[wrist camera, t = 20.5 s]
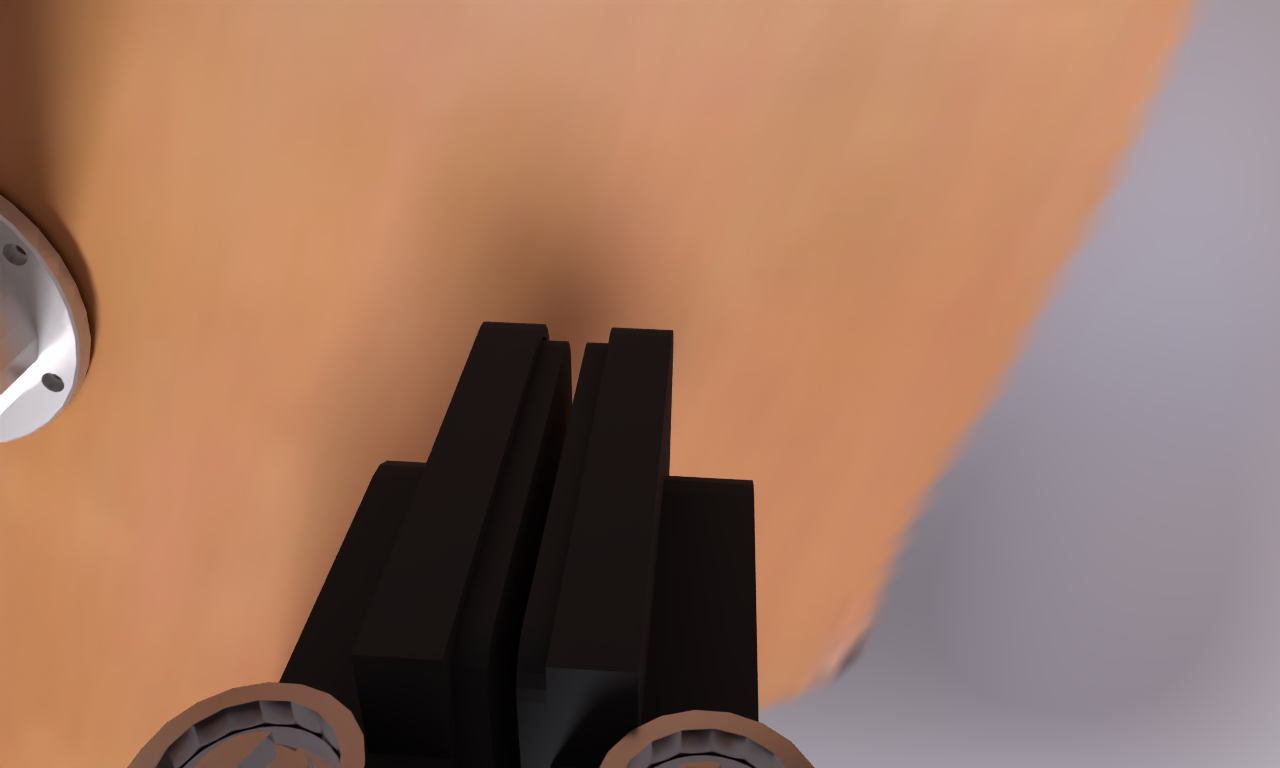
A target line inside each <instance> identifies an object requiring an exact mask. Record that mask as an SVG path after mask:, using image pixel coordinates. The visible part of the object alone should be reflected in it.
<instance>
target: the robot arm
mask: <svg viewBox="0 0 1280 768" xmlns="http://www.w3.org/2000/svg"><path fill="white" fill-rule="evenodd" d="M90 346H91V336H90V330H89V324H88V318H87V312H86V309H85V307H84V304H83V301H82V299H81V296H80V293H79V290H78V288H77V285H76V283H75V281H74V280H73V278H72V276H71V274H70V273H69V271H68V269H67V267H66V266H65V264H64V262H63V260H62V259H61V257H60V255H59V254H58V253H57V252H56V250H55V249H54V248H53V247H52V245H51V244H50V243H49V241H48V240H47V239H46V238H45V236H44V235H43V234H42V233H41V231H40V230H39V229H38V228H37V227H36V226H35V225H34V224H33V223H32V222H31V221H30V220H29V219H28V218H27V217H26V216H25V215H24V214H23V213H21V212H20V211H19V210H18V209H17V208H16V207H15V206H14V205H13V204H12V203H11V202H9V201H8V200H7V199H5V198H4V197H3V196H1V195H0V443H5V442H11V441H14V440H17V439H20V438H23V437H26V436H29V435H32V434H33V433H35V432H37V431H38V430H40V429H41V428H43V427H45V426H46V425H48V424H49V423H51V422H52V421H53V420H54V419H55V418H56V417H57V416H58V415H59V414H60V413H61V412H62V411H63V410H64V409H65V408H66V407H67V406H68V405H69V404H70V402H71V401H72V399H73V398H74V396H75V395H76V394H77V392H78V391H79V389H80V388H81V386H82V384H83V381H84V378H85V375H86V372H87V369H88V366H89V361H90ZM672 371H673V330H656V329H634V328H612V329H611V333H610V337H609V343H587V344H586V347H585V352H584V356H583V361H582V365H581V369H580V374H579V378H578V383H577V387H576V392H575V396H574V400H573V405H572V380H571V351H570V344H569V342H567V341H549V334H548V329H547V326H546V324H526V323H504V322H483V323H482V325H481V327H480V329H479V332H478V334H477V337H476V339H475V342H474V344H473V347H472V349H471V352H470V354H469V357H468V359H467V362H466V365H465V367H464V370H463V372H462V375H461V377H460V380H459V382H458V385H457V387H456V390H455V392H454V395H453V397H452V400H451V402H450V405H449V408H448V410H447V413H446V415H445V418H444V420H443V423H442V425H441V428H440V430H439V433H438V435H437V438H436V440H435V443H434V445H433V448H432V451H431V453H430V456H429V458H428V461H427V463H419V462H401V461H386V462H384V463H382V464H380V466H379V467H378V469H377V470H376V472H375V474H374V475H373V477H372V480H371V482H370V484H369V486H368V488H367V491H366V493H365V495H364V497H363V499H362V502H361V504H360V506H359V508H358V510H357V513H356V515H355V517H354V519H353V521H352V523H351V526H350V528H349V530H348V532H347V534H346V537H345V539H344V541H343V543H342V545H341V548H340V550H339V552H338V554H337V556H336V559H335V561H334V563H333V565H332V567H331V570H330V572H329V574H328V576H327V578H326V581H325V583H324V585H323V587H322V589H321V592H320V594H319V596H318V598H317V600H316V603H315V605H314V607H313V609H312V611H311V613H310V616H309V618H308V620H307V622H306V624H305V627H304V629H303V631H302V633H301V635H300V638H299V640H298V642H297V644H296V646H295V649H294V651H293V653H292V655H291V657H290V660H289V662H288V664H287V666H286V668H285V671H284V673H283V675H282V677H281V679H280V682H279V683H273V682H266V683H261V684H255V685H249V686H243V687H238V688H232V689H230V690H227V691H225V692H222V693H220V694H217V695H215V696H212V697H210V698H207V699H205V700H202V701H200V702H197V703H196V704H194V705H193V706H191V707H190V708H188V709H187V710H185V711H184V712H182V713H181V714H179V715H178V716H176V717H175V718H173V719H172V720H170V721H169V722H167V723H166V724H165V725H164V726H163V727H162V728H161V729H160V730H159V731H158V732H157V733H156V734H155V735H154V736H153V737H152V738H151V739H150V740H149V742H148V743H147V744H146V745H145V746H144V747H143V748H142V749H141V750H140V751H139V753H138V754H137V755H136V757H135V758H134V759H133V761H132V762H131V763H130V765H129V766H128V767H127V768H814V767H813V765H811V763H810V762H809V761H808V760H807V759H806V758H805V756H804V755H803V754H802V753H801V752H800V751H799V750H798V749H797V747H796V746H795V745H794V744H793V743H792V742H791V741H789V740H788V739H786V738H785V737H783V736H782V735H780V734H779V733H777V732H775V731H774V730H772V729H771V728H769V727H767V726H766V725H764V724H763V723H760V722H758V672H757V622H756V571H755V521H754V485H753V480H736V479H717V478H699V477H680V476H669V467H670V435H671V403H672Z"/></svg>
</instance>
